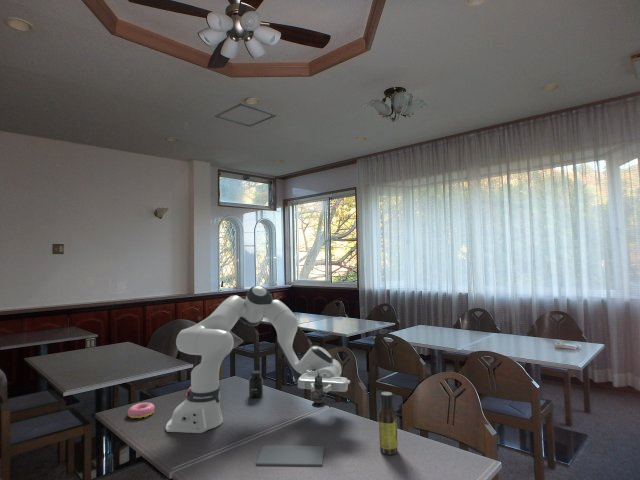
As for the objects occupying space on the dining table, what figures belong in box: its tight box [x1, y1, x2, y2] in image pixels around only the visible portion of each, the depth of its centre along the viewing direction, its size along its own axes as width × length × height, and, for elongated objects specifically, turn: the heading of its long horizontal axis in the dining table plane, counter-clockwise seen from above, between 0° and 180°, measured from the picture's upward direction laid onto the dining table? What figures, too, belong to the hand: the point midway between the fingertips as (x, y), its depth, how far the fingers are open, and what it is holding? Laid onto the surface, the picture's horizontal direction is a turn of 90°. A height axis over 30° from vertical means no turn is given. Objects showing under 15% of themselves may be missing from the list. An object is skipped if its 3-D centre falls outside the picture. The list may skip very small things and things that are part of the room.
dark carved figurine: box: [310, 374, 327, 409], centre depth 151 cm, size 6×6×12 cm
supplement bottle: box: [248, 370, 264, 400], centre depth 192 cm, size 7×7×12 cm
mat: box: [255, 444, 325, 467], centre depth 135 cm, size 22×12×1 cm, turn 86°
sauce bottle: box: [378, 391, 399, 455], centre depth 137 cm, size 6×6×20 cm
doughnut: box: [127, 401, 156, 419], centre depth 173 cm, size 11×11×4 cm
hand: (318, 390), depth 151 cm, fingers closed on dark carved figurine, 3 cm apart
